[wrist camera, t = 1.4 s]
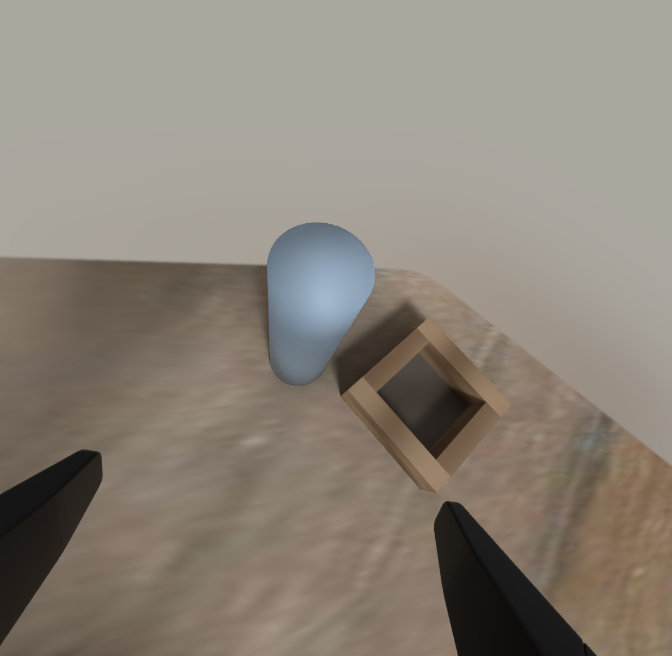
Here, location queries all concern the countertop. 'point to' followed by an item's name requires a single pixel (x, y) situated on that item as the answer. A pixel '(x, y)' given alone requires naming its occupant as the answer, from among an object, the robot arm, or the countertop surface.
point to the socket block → (427, 405)
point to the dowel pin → (313, 297)
